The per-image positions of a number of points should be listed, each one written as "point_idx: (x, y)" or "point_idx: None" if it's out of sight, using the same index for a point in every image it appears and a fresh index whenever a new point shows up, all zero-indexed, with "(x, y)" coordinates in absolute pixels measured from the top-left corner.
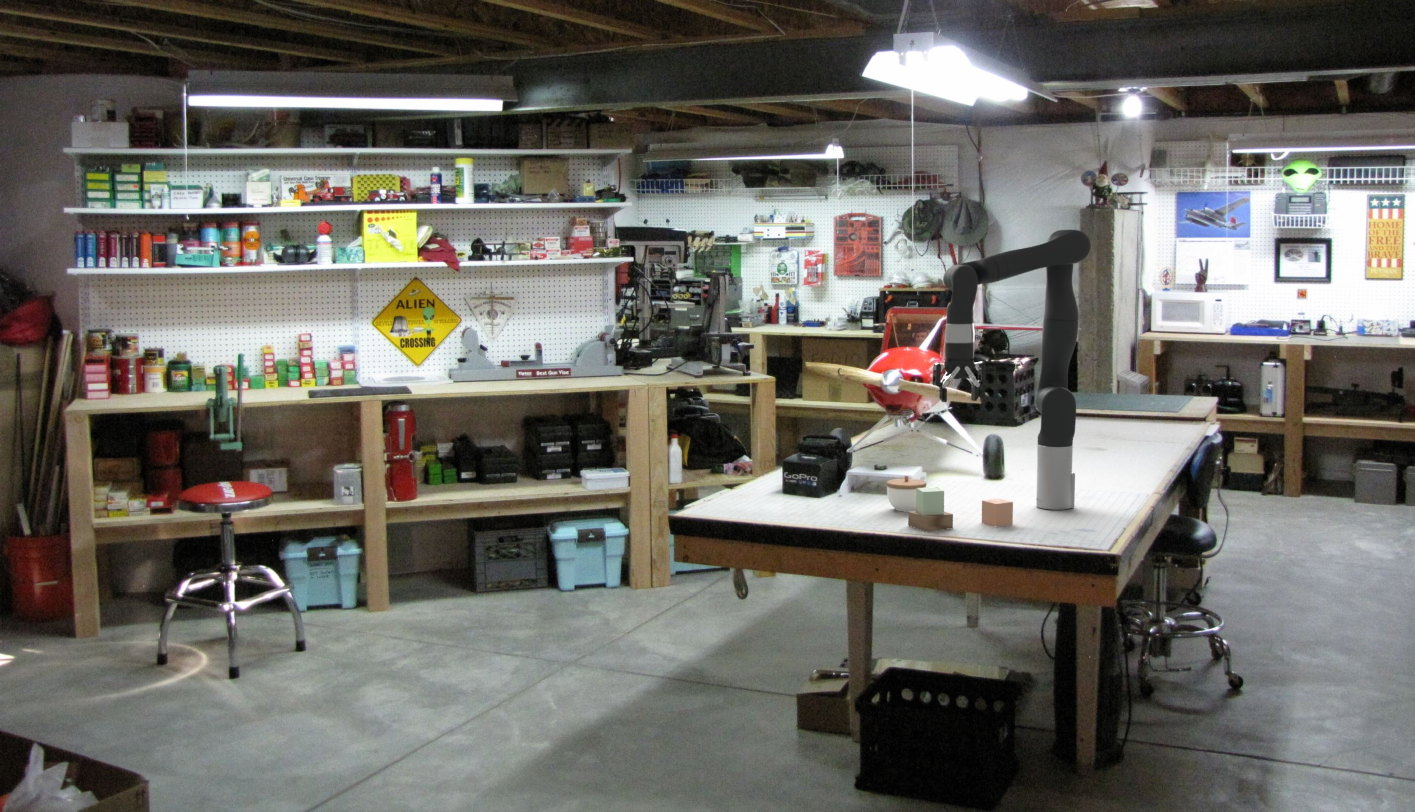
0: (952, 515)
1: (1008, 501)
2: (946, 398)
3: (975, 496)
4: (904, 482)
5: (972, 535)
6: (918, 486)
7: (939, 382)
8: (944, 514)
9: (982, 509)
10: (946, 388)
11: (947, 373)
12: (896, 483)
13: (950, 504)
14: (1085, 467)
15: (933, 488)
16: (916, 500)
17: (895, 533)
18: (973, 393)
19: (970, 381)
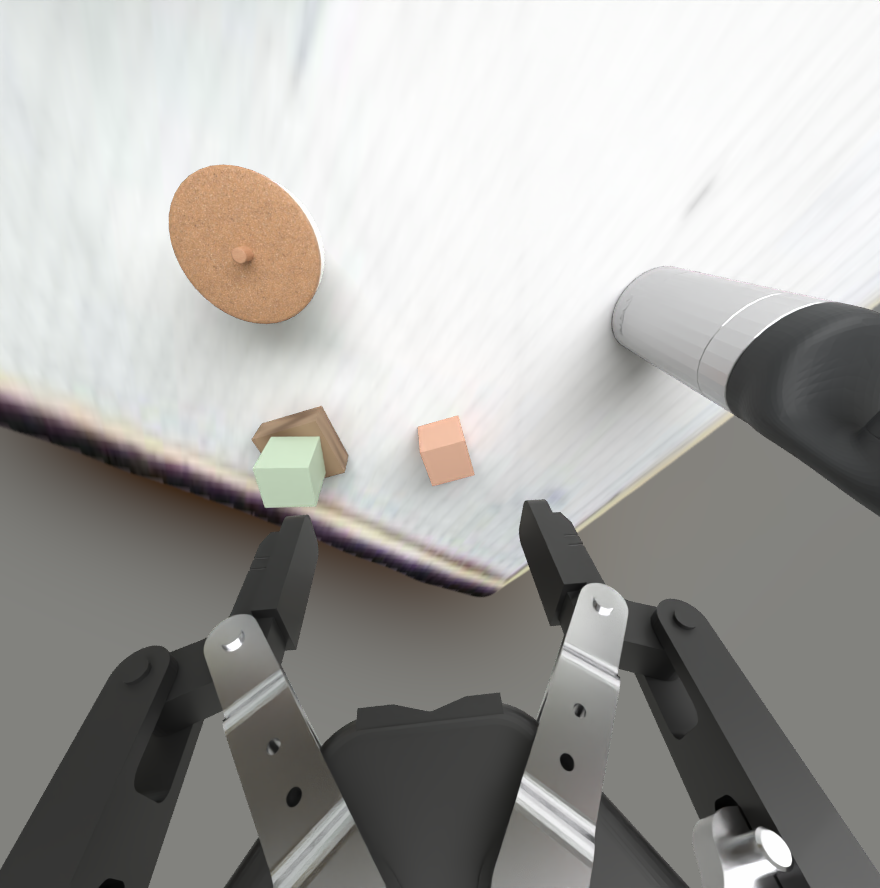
0: (344, 470)
1: (468, 470)
2: (310, 573)
3: (566, 55)
4: (237, 275)
5: (367, 502)
6: (285, 319)
7: (193, 728)
8: (326, 473)
9: (419, 443)
10: (293, 644)
11: (273, 804)
12: (207, 284)
13: (426, 194)
14: None
15: (296, 480)
16: (263, 451)
17: (230, 473)
18: (537, 565)
19: (567, 645)
